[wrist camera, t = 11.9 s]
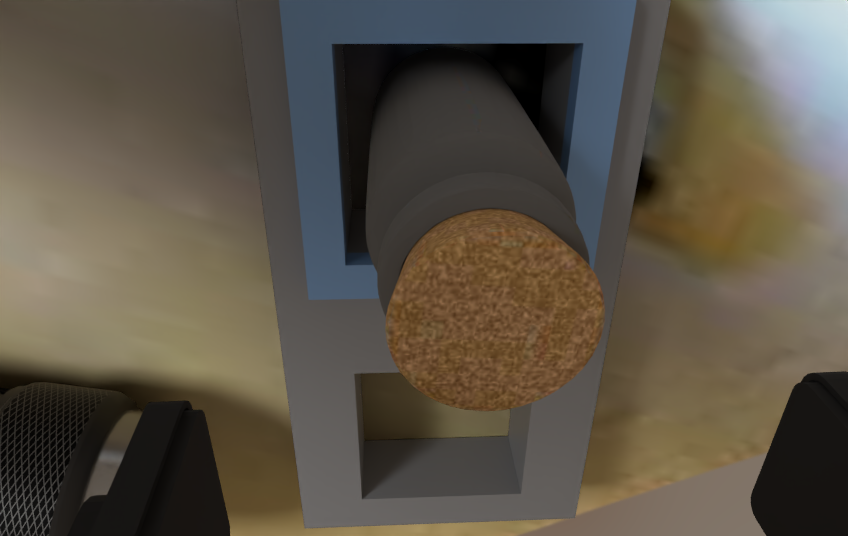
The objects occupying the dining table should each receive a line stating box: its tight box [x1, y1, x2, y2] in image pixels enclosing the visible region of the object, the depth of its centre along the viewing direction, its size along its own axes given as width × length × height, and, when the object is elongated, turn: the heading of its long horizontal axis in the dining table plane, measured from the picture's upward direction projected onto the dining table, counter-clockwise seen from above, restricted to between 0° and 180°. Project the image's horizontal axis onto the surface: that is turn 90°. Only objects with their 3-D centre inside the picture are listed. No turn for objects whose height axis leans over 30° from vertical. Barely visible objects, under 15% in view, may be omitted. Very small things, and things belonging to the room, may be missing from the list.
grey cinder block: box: [236, 0, 671, 528], centre depth 28 cm, size 26×14×5 cm, turn 0°
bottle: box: [366, 47, 605, 411], centre depth 20 cm, size 6×6×15 cm
